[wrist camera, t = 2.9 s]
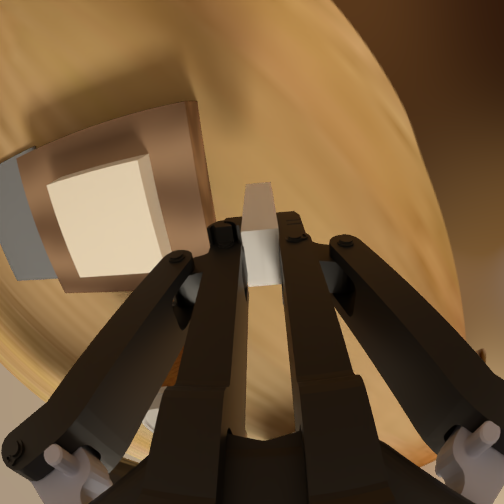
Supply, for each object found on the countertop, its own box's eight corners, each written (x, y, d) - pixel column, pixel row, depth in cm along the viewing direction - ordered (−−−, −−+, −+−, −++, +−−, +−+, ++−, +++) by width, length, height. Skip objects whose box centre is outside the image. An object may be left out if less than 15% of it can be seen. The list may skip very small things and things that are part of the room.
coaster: (173, 256, 21) (166, 271, 19) (90, 264, 22) (80, 277, 20) (148, 153, 17) (137, 160, 15) (61, 177, 18) (46, 185, 16)
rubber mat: (77, 275, 27) (76, 277, 27) (18, 279, 28) (17, 280, 28) (35, 145, 20) (32, 146, 19) (-20, 175, 20) (-22, 176, 20)
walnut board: (223, 259, 26) (218, 286, 22) (82, 271, 27) (65, 293, 23) (197, 101, 19) (184, 101, 15) (42, 147, 20) (16, 158, 16)
